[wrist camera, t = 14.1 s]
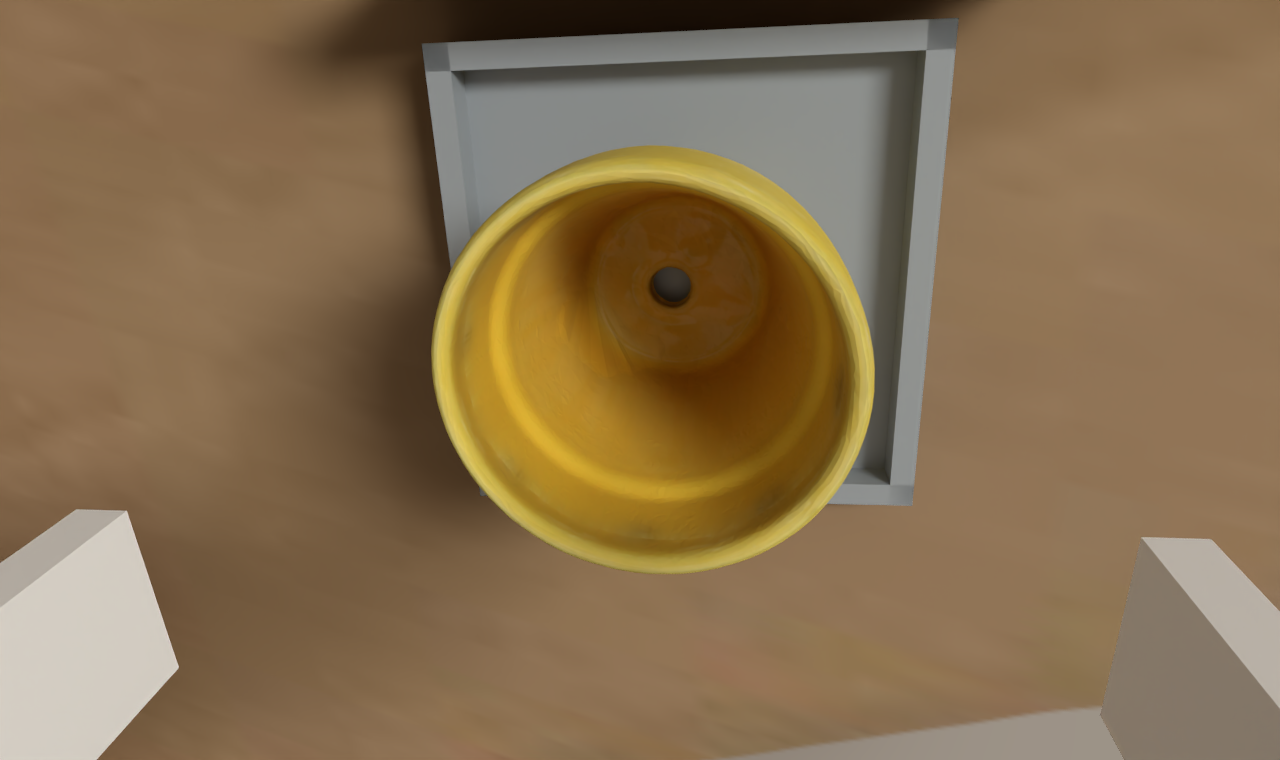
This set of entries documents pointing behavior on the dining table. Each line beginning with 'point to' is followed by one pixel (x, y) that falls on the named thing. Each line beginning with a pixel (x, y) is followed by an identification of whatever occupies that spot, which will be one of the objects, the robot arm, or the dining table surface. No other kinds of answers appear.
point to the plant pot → (654, 361)
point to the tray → (738, 158)
